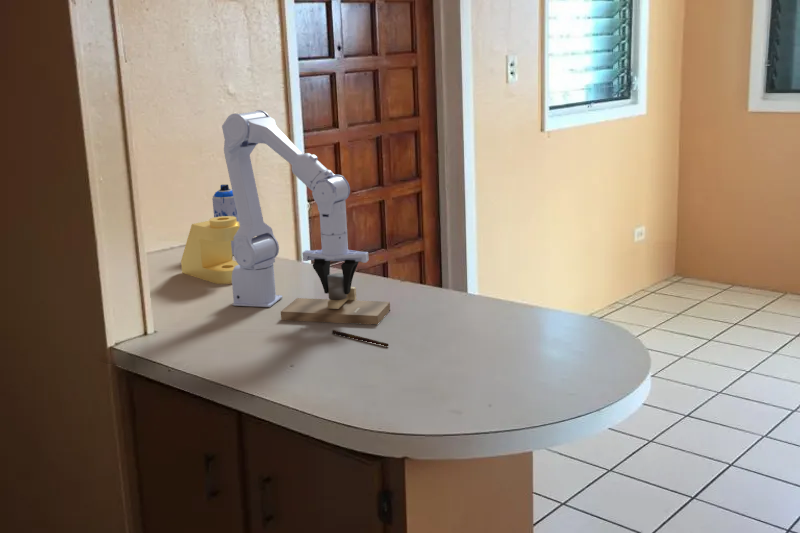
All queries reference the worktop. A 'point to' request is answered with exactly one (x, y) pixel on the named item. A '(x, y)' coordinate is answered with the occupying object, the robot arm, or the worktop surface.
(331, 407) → the worktop surface
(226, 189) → the aerosol can
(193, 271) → the yellow bracket
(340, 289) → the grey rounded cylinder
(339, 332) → the dark notched rod
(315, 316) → the board
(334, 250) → the robot arm
